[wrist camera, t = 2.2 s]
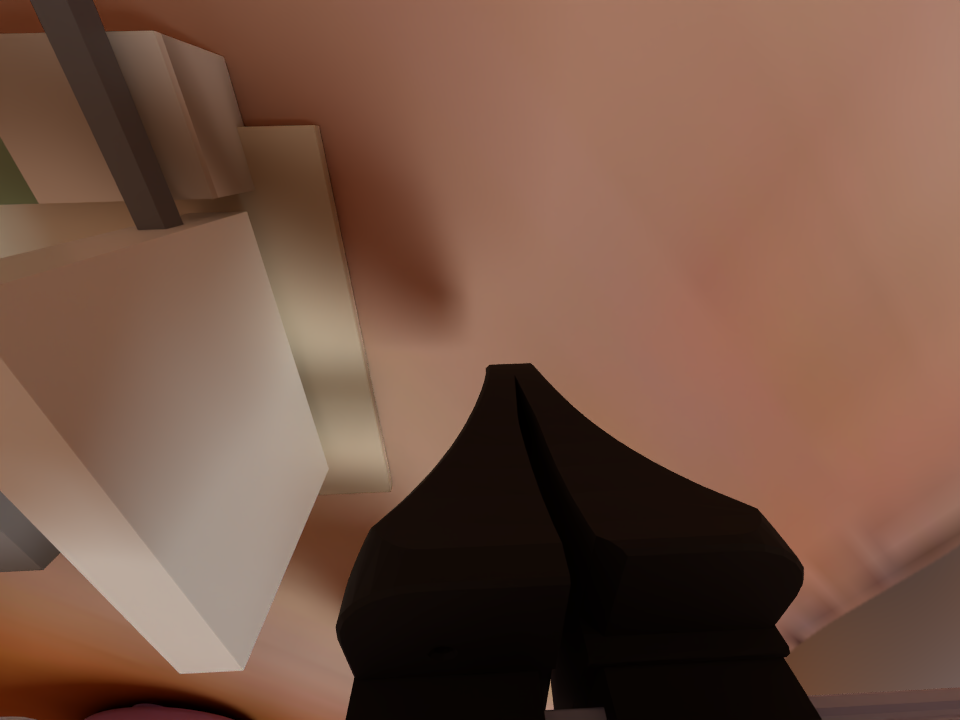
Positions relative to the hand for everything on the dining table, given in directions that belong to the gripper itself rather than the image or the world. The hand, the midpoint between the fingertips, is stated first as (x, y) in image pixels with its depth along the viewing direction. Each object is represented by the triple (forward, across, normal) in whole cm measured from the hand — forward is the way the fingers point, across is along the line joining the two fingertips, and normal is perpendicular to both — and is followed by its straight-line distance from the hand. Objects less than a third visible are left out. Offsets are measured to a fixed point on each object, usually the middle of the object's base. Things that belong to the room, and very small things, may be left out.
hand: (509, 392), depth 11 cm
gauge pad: (+2, +8, -2) cm, 9 cm away
